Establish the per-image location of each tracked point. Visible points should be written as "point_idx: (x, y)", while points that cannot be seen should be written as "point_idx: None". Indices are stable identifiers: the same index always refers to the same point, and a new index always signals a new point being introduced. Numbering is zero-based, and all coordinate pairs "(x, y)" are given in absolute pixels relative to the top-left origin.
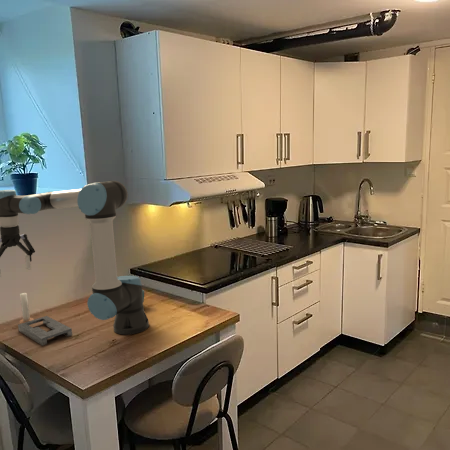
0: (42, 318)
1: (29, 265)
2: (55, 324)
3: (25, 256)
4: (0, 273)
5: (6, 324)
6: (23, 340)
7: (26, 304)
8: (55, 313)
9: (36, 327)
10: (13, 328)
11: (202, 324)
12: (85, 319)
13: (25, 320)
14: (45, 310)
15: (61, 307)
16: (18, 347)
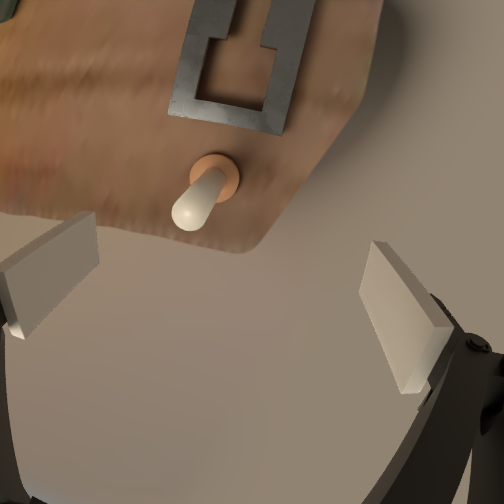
0: (194, 102)
1: (68, 224)
2: (214, 5)
3: (30, 318)
4: (385, 253)
5: (259, 232)
6: (326, 48)
7: (200, 183)
8: (113, 163)
9: (268, 42)
10: (272, 174)
11: None
12: (105, 22)
13: (222, 173)
14: (117, 222)
15: (76, 197)
16: (368, 22)
